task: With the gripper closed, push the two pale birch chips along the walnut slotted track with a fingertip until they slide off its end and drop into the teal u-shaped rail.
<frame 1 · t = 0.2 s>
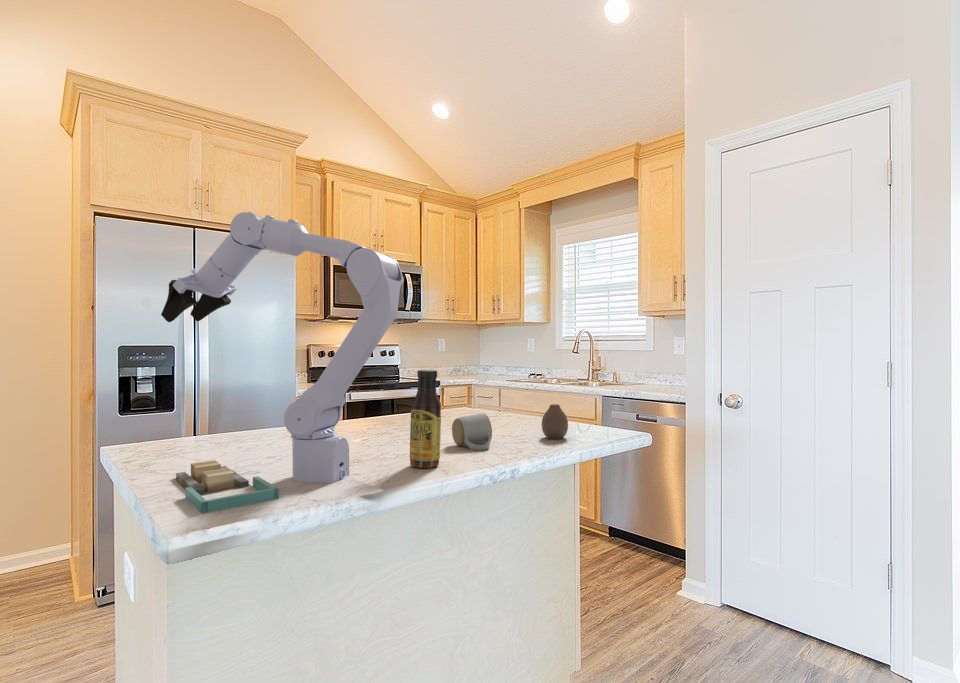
hand: (180, 318, 104), 30 cm above the countertop, tool tilted 45°, fingers open, 7 cm apart
chip b: (205, 477, 97), point 1 cm above the countertop, touching slot track
teal u-shaped rail: (232, 507, 85), on the countertop
vase: (554, 438, 142), on the countertop
slot track: (211, 490, 94), on the countertop
chip a: (218, 487, 91), point 1 cm above the countertop, touching slot track
sauce bottle: (425, 467, 112), on the countertop
ceramic mug: (474, 447, 132), on the countertop
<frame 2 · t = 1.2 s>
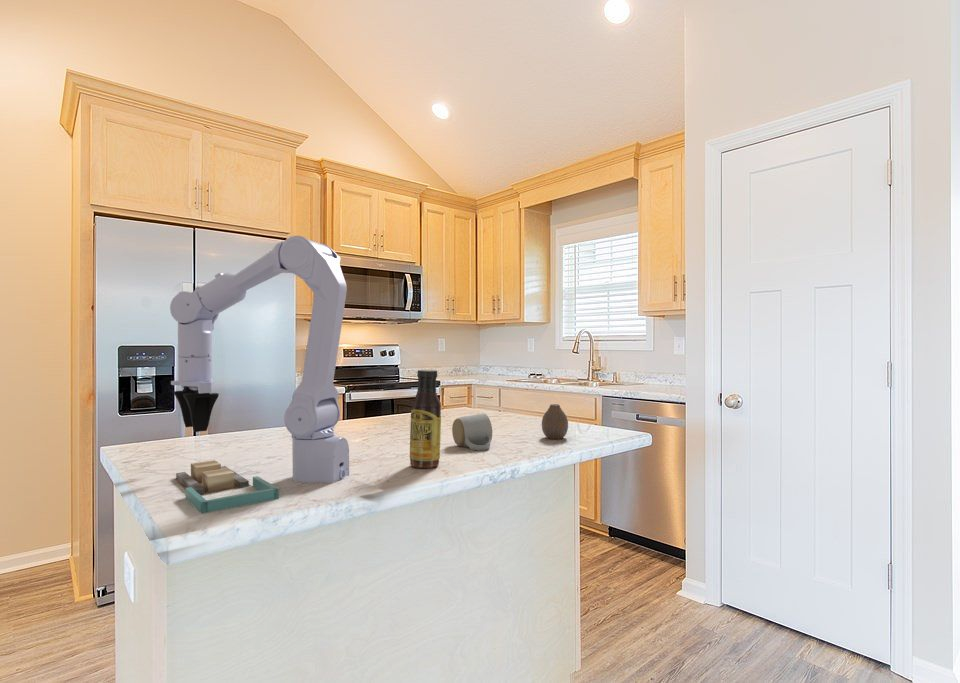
hand: (195, 428, 102), 9 cm above the countertop, tool pointing down, fingers open, 6 cm apart
nothing on the countertop moved.
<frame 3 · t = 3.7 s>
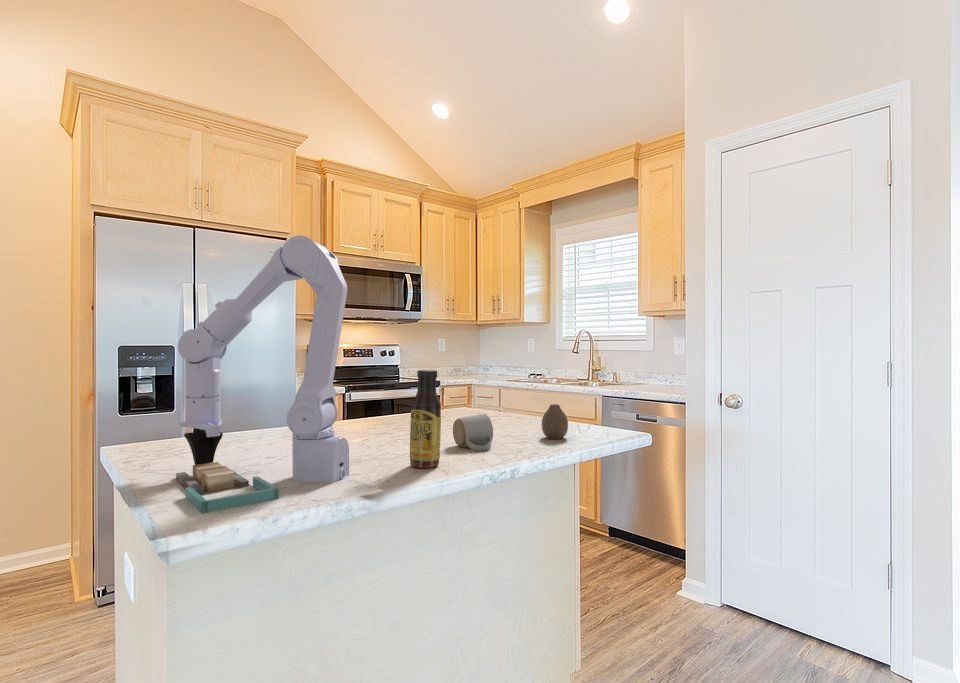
hand: (203, 471, 98), 2 cm above the countertop, tool pointing down, fingers closed
chip b: (207, 479, 96), point 1 cm above the countertop, touching gripper, slot track
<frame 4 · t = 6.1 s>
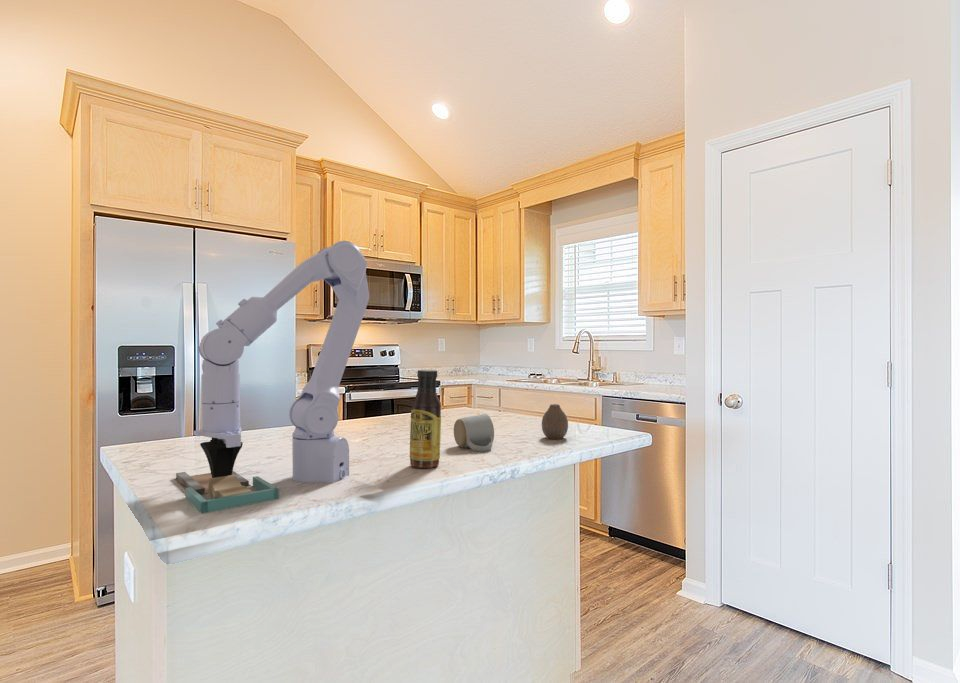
hand: (221, 484, 89), 2 cm above the countertop, tool pointing down, fingers closed
chip b: (224, 496, 87), point 1 cm above the countertop, tilted 17°, touching gripper
chip a: (234, 506, 84), resting on teal u-shaped rail
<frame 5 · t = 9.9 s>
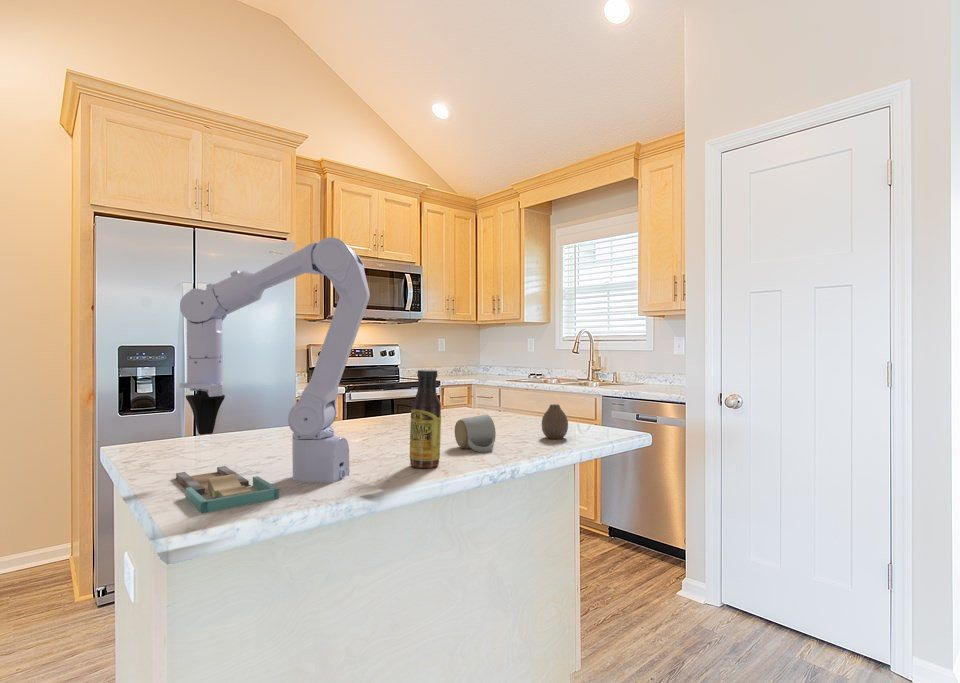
hand: (205, 433, 97), 9 cm above the countertop, tool pointing down, fingers closed
chip b: (223, 495, 87), point 1 cm above the countertop, tilted 18°, touching slot track, teal u-shaped rail
at the end: chip a inside the target area on the teal u-shaped rail (1.1 cm from its centre), point 0.4 cm above the teal u-shaped rail's base; chip b inside the target area on the teal u-shaped rail (3.7 cm from its centre), point 1.0 cm above the teal u-shaped rail's base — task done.
